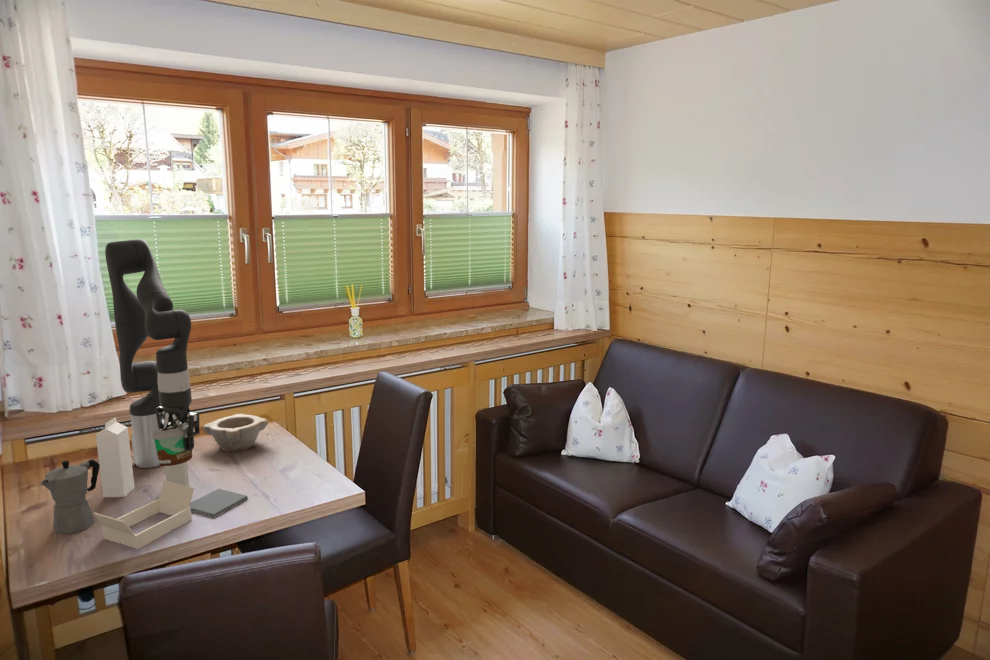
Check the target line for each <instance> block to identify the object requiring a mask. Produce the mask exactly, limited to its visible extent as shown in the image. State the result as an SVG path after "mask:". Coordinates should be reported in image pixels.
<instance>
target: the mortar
mask: <svg viewBox="0 0 990 660" xmlns="http://www.w3.org/2000/svg"><path fill="white" fill-rule="evenodd" d="M268 424H269V421H268V419H267V418H264V417H260V416H258V415H253V414H244V413H236V414H232V415H229V416H225V417H222V418H217V419H216V420H214V421H211V422H208V423H205V424H204V425H203V426H202V430H203V431H204V433H206V434H207V435H208V436H212V437H213V439H214V440H215V442H216V444H217V445H218V446H219V447H220V448H221V449H222V450H224V451H226V452H233V453H234V452H242V451H245V450H248V449H251V447H252V446H254V444H255V443H256V440H257V439H258V436H259V434H260V432H261V431H263V430H265V428H267V426H268Z"/></svg>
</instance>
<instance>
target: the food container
mask: <svg viewBox="0 0 990 660" xmlns="http://www.w3.org/2000/svg"><path fill="white" fill-rule="evenodd" d="M185 425H188V424H187V422H186V424H183V426H185ZM186 430H187V433H188V428H186ZM193 430H195V427H194V428H193ZM184 438H185V437H184V434H183V430H180V428H178V426H177V425H175V424H172V425H169V426H167V427H166V428H164V429H163V430H161V431H153V434H152V439H154V440H155V445H156V450H157V455H158V460H159V465H160V466H159V467H164V466H173V465H178V464H182V463H184V462H187V463H188V462H189V461H190V460H191V459H192V458H193V449H192V450H190V451H186V450H185V444H184Z"/></svg>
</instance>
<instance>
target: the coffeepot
mask: <svg viewBox="0 0 990 660" xmlns="http://www.w3.org/2000/svg"><path fill="white" fill-rule="evenodd" d="M61 465H62V467H58V468H55V469H52V470H51V471H50V472H47V473H46V474H44V476H45V478H44V479H43V480H42V481H41V482H40V485H41V486H44V487H45V488H46V489H47V490H49V492H50V494H51V497H52V499H53V501H54V508H53V509H54V510H53V524H52V525H53V526H52V529H53V530H54V532H55V534H59V535H72V534H75V533H80V532H82V531H85V530H87V529H89V528H90V527H92V526H93V524H94V523H95V519H94V516H93V515H94V514H93V512H92V510H91V506H90V505H89V500H88V499H87V498H86V494H88V492H92V491H93V490H95V489H96V487H97V481H98V476H99V472H100V465H99V461H96V460H95V459H90V460H88V461H84V462H82V463H79V464H76V465H75V464H73V465H72V464H71V465H70V461H69V460H63V461H62V462H61ZM90 468H92V469H91V477H90V483H91V484H90V487H88V474H89V469H90Z"/></svg>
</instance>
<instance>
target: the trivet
mask: <svg viewBox="0 0 990 660" xmlns="http://www.w3.org/2000/svg"><path fill="white" fill-rule="evenodd" d="M248 498H249V497H248V495H246V494H242V493H239V492H234V491H231V490H226V489H222V488H216V489H214V490H213V491H211V492H209V493H206V494H205V495H203V496H201V497H200V498H198V499H195V500H194V501H191V502H190V506H189V507H190V508H191V512H192V511H193V512H192V513H196V512H197V514H200V513H201V514H200V515H203V514H205V515H204V516H207V515H209V516H208V517H210V516H212V517H211V518H216V517H218V516H220V515H221V514H223V513H225V512H226V510H227V511H228V509H229V510H231V509H232V508H234V507H236V506H238V505H239V504H241V503H242V502H245V501H246V500H248ZM237 504H238V505H237ZM235 505H236V506H235ZM233 506H234V507H233ZM224 511H225V512H224ZM222 512H223V513H222ZM219 514H220V515H219ZM217 515H218V516H217ZM215 516H216V517H215Z"/></svg>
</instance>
